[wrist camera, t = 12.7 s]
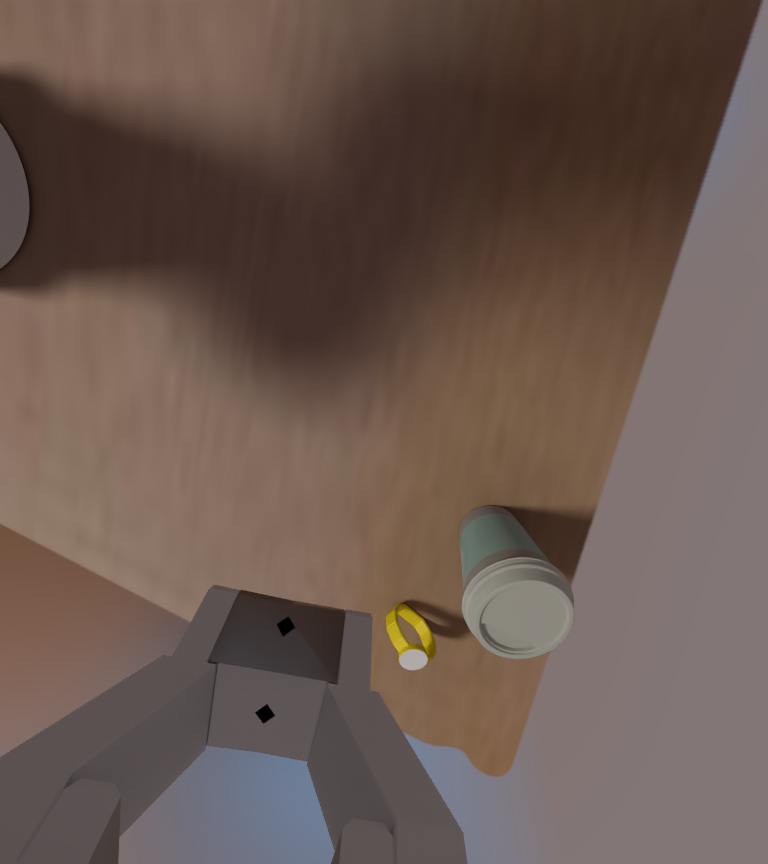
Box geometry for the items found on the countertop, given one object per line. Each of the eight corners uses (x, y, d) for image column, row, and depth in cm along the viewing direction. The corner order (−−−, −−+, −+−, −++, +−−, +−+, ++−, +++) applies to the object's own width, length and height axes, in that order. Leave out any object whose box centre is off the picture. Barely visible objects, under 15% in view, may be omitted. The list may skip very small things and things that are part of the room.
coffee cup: (430, 516, 43) (446, 604, 32) (510, 478, 42) (556, 555, 31) (468, 578, 46) (495, 679, 35) (544, 544, 44) (599, 638, 33)
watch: (436, 619, 48) (446, 667, 43) (418, 633, 49) (425, 682, 44) (398, 591, 46) (403, 638, 41) (379, 606, 47) (382, 654, 42)
